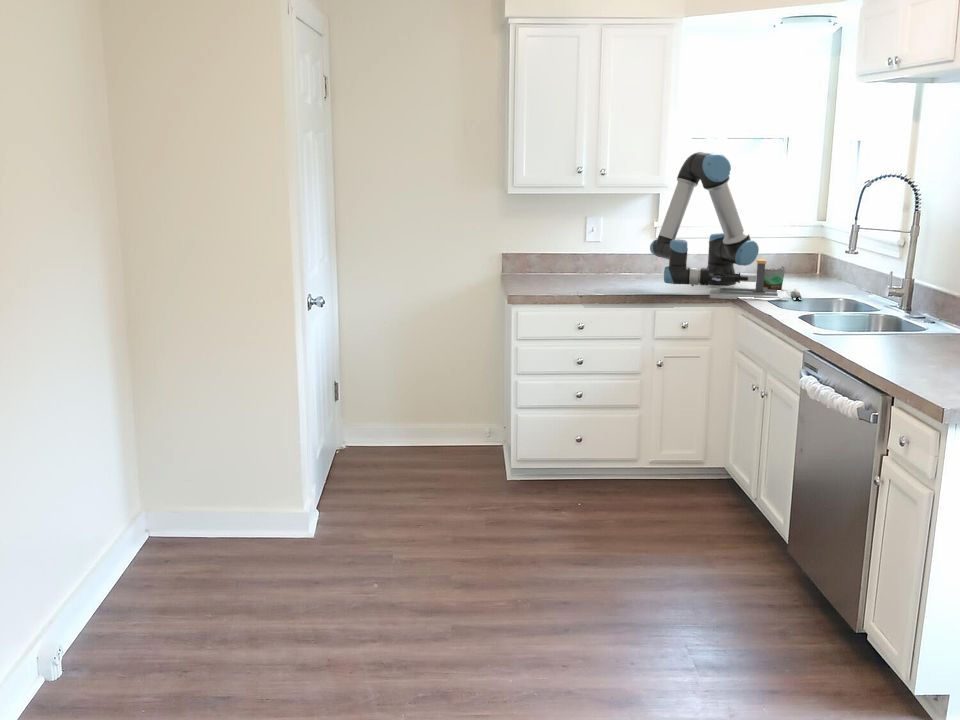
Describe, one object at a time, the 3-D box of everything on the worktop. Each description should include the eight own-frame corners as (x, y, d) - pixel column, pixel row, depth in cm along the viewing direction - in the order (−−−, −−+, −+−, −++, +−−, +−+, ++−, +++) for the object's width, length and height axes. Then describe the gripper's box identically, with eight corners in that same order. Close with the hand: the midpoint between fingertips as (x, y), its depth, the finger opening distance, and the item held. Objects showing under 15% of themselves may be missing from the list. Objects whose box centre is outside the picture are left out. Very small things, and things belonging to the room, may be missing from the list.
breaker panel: (710, 291, 393) (710, 285, 392) (785, 294, 385) (785, 288, 384) (709, 297, 380) (710, 292, 379) (787, 301, 372) (788, 295, 371)
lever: (752, 290, 384) (755, 258, 380) (764, 291, 383) (767, 259, 379) (753, 293, 379) (755, 260, 375) (765, 293, 378) (767, 261, 374)
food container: (768, 293, 389) (770, 270, 386) (759, 290, 394) (760, 268, 391) (790, 290, 393) (792, 268, 390) (781, 288, 398) (783, 266, 396)
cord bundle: (790, 294, 385) (791, 288, 384) (799, 295, 384) (799, 288, 383) (792, 301, 372) (793, 294, 371) (801, 301, 371) (802, 294, 371)
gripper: (699, 282, 392) (754, 284, 386) (698, 287, 380) (755, 290, 374) (700, 265, 390) (756, 267, 384) (699, 270, 378) (757, 272, 372)
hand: (755, 278), depth 379 cm, fingers closed
